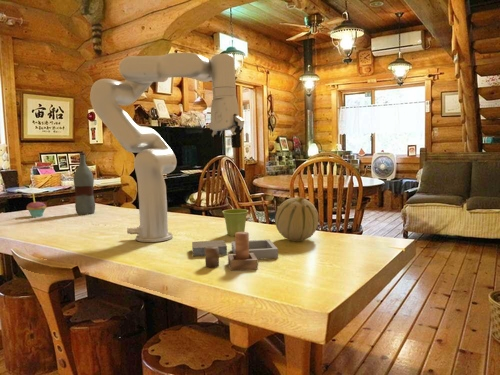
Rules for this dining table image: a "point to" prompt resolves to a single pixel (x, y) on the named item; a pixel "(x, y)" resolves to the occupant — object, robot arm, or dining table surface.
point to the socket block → (242, 262)
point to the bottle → (84, 188)
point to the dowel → (242, 245)
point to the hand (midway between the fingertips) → (227, 148)
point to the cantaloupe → (296, 219)
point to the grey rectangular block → (200, 246)
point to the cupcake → (36, 208)
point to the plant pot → (235, 220)
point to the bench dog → (212, 256)
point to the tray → (260, 249)
